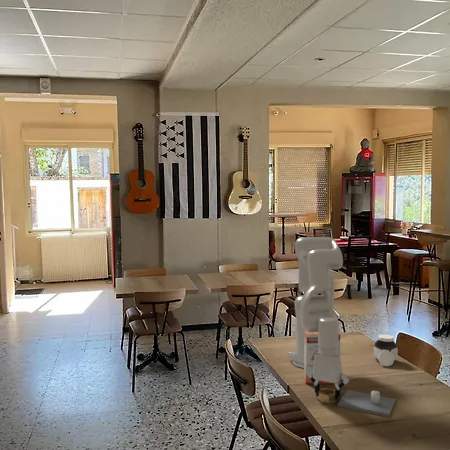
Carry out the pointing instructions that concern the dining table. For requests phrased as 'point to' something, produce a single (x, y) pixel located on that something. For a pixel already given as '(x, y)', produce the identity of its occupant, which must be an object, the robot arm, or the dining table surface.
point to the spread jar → (385, 350)
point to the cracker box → (312, 354)
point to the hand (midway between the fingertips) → (327, 396)
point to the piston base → (367, 402)
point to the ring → (326, 395)
